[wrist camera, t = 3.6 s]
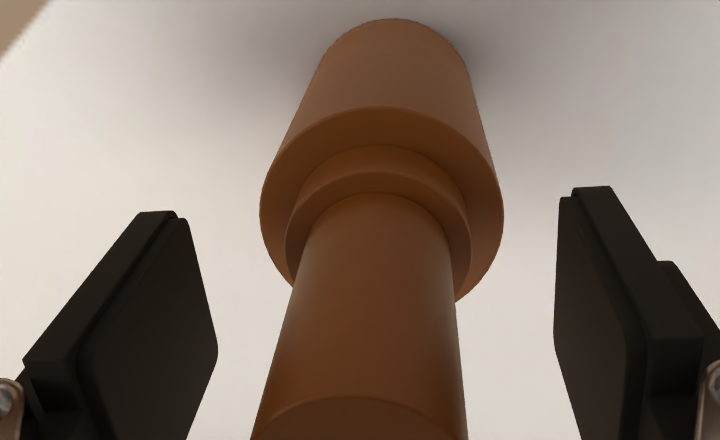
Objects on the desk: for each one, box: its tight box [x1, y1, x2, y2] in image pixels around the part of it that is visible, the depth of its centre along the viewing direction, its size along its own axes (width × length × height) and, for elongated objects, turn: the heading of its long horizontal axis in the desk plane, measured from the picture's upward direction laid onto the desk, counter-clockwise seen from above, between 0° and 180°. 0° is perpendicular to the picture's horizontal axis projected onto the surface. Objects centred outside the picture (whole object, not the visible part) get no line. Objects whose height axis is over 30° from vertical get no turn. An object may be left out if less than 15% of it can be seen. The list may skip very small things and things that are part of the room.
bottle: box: [250, 19, 504, 440], centre depth 14 cm, size 5×5×14 cm
